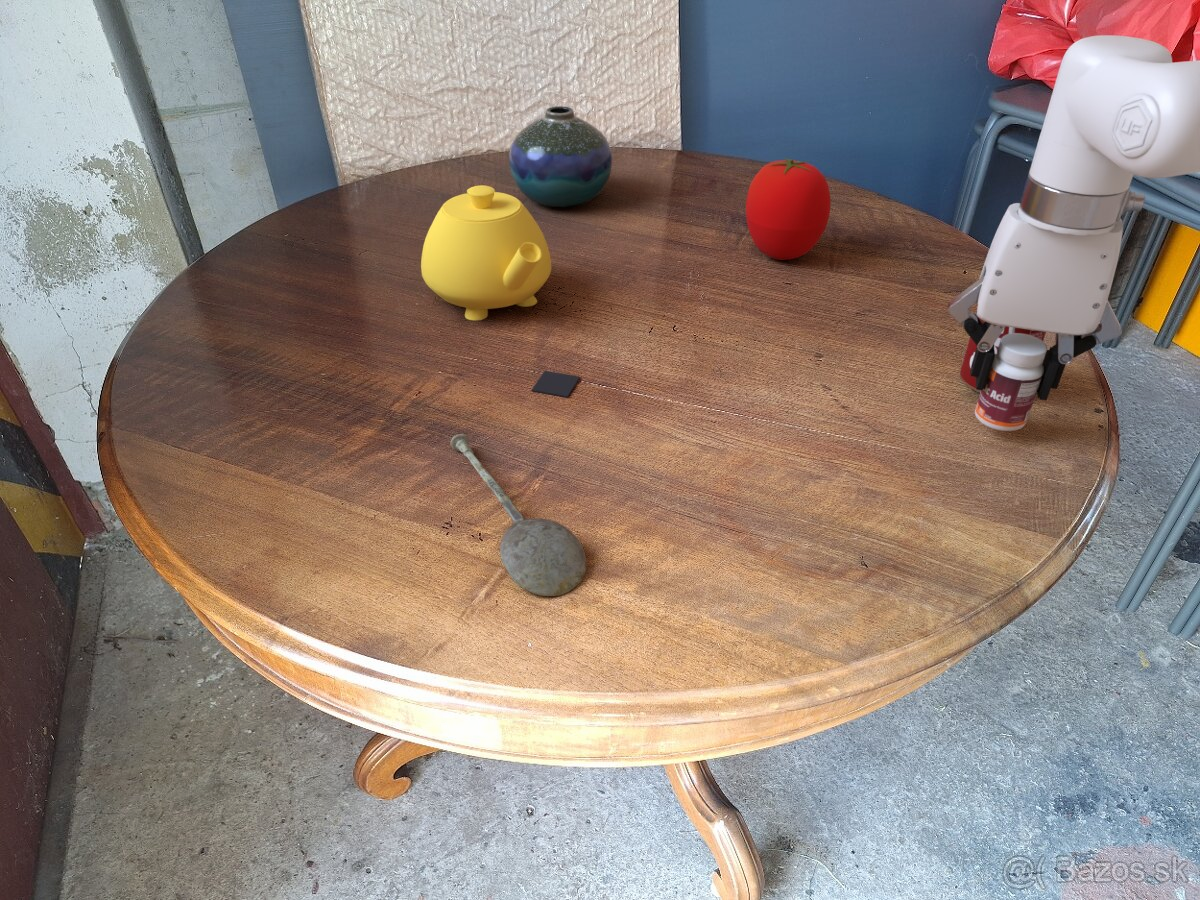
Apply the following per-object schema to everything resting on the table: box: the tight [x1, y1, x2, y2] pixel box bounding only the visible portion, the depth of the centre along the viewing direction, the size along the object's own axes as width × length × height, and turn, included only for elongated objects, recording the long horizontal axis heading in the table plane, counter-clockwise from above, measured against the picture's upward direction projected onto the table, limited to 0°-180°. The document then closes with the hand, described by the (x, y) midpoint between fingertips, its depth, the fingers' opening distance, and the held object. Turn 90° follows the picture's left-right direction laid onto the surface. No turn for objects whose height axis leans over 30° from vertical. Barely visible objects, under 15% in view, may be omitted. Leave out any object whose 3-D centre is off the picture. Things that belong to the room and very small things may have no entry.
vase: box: [508, 105, 613, 208], centre depth 133 cm, size 15×15×13 cm
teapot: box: [420, 184, 552, 321], centre depth 105 cm, size 20×16×14 cm
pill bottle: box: [974, 333, 1048, 432], centre depth 84 cm, size 5×5×8 cm
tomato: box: [745, 156, 832, 261], centre depth 117 cm, size 11×11×13 cm
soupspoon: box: [449, 433, 587, 597], centre depth 77 cm, size 22×3×7 cm
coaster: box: [531, 370, 581, 398], centre depth 94 cm, size 4×4×1 cm
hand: (1010, 385), depth 85 cm, fingers closed on pill bottle, 4 cm apart
